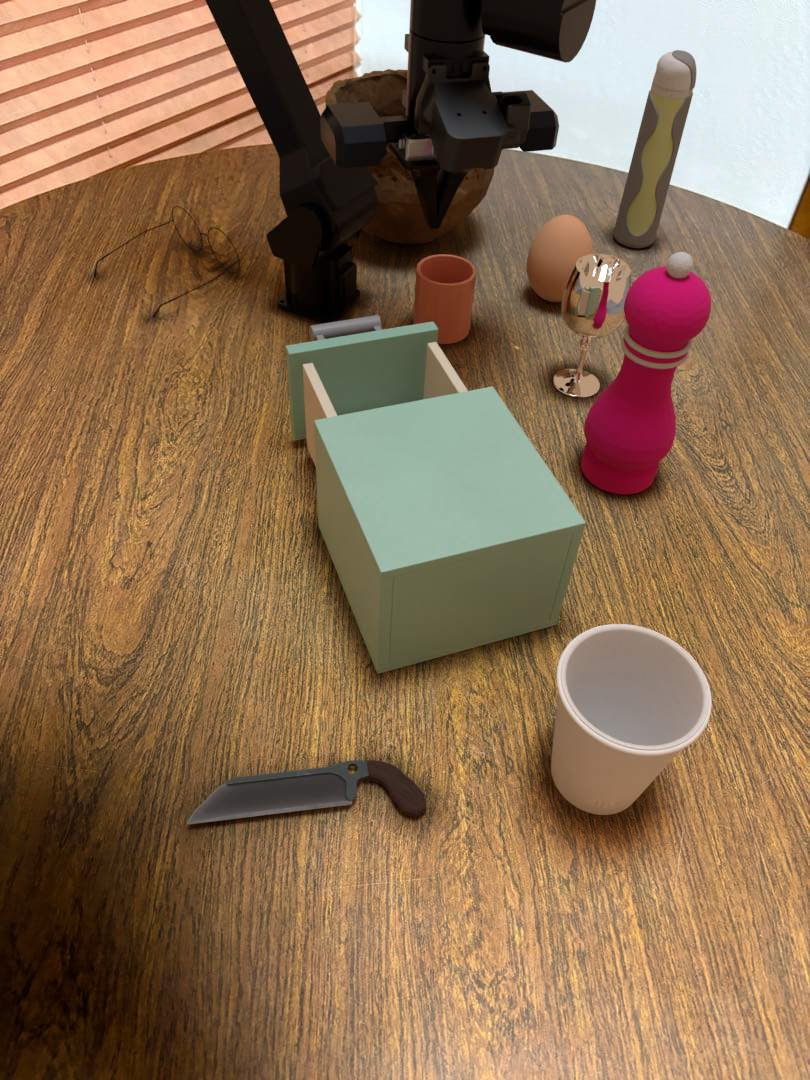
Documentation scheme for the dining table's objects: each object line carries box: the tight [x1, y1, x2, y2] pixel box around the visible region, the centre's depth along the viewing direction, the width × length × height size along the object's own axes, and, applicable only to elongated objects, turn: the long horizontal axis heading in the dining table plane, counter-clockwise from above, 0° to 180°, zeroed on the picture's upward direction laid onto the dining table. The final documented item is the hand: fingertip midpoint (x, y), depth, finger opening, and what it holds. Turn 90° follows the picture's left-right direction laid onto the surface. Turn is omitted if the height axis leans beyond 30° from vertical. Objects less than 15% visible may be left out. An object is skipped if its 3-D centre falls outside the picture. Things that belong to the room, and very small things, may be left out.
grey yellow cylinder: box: [613, 49, 697, 249], centre depth 93 cm, size 5×5×20 cm
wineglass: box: [552, 253, 632, 399], centre depth 77 cm, size 6×6×12 cm
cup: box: [412, 253, 477, 345], centre depth 84 cm, size 6×6×6 cm
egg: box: [526, 214, 594, 303], centre depth 88 cm, size 7×7×9 cm
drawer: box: [285, 314, 469, 468], centre depth 69 cm, size 18×12×9 cm
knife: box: [186, 759, 427, 825], centre depth 51 cm, size 14×4×1 cm, turn 99°
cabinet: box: [314, 386, 587, 675], centre depth 60 cm, size 15×14×11 cm
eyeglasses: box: [93, 205, 241, 319], centre depth 89 cm, size 11×13×5 cm
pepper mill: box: [580, 251, 712, 496], centre depth 66 cm, size 7×7×20 cm
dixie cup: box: [550, 623, 713, 816], centre depth 50 cm, size 8×8×10 cm
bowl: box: [324, 68, 495, 245], centre depth 94 cm, size 19×19×15 cm
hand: (432, 227), depth 76 cm, fingers closed
